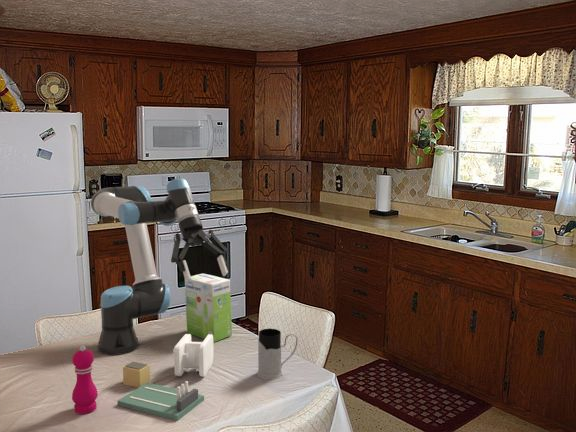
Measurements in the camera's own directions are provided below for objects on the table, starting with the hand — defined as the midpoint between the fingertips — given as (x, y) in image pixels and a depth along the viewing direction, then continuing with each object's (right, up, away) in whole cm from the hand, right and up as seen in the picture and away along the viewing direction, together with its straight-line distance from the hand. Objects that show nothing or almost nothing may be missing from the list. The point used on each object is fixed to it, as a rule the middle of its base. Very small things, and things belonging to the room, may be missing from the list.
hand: (207, 277), depth 180 cm
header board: (-13, -38, -10) cm, 41 cm away
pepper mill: (-35, -38, -14) cm, 53 cm away
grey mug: (+23, -35, +12) cm, 43 cm away
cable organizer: (-7, -35, +14) cm, 38 cm away
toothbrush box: (-7, -30, +49) cm, 58 cm away
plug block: (-24, -36, +4) cm, 43 cm away
